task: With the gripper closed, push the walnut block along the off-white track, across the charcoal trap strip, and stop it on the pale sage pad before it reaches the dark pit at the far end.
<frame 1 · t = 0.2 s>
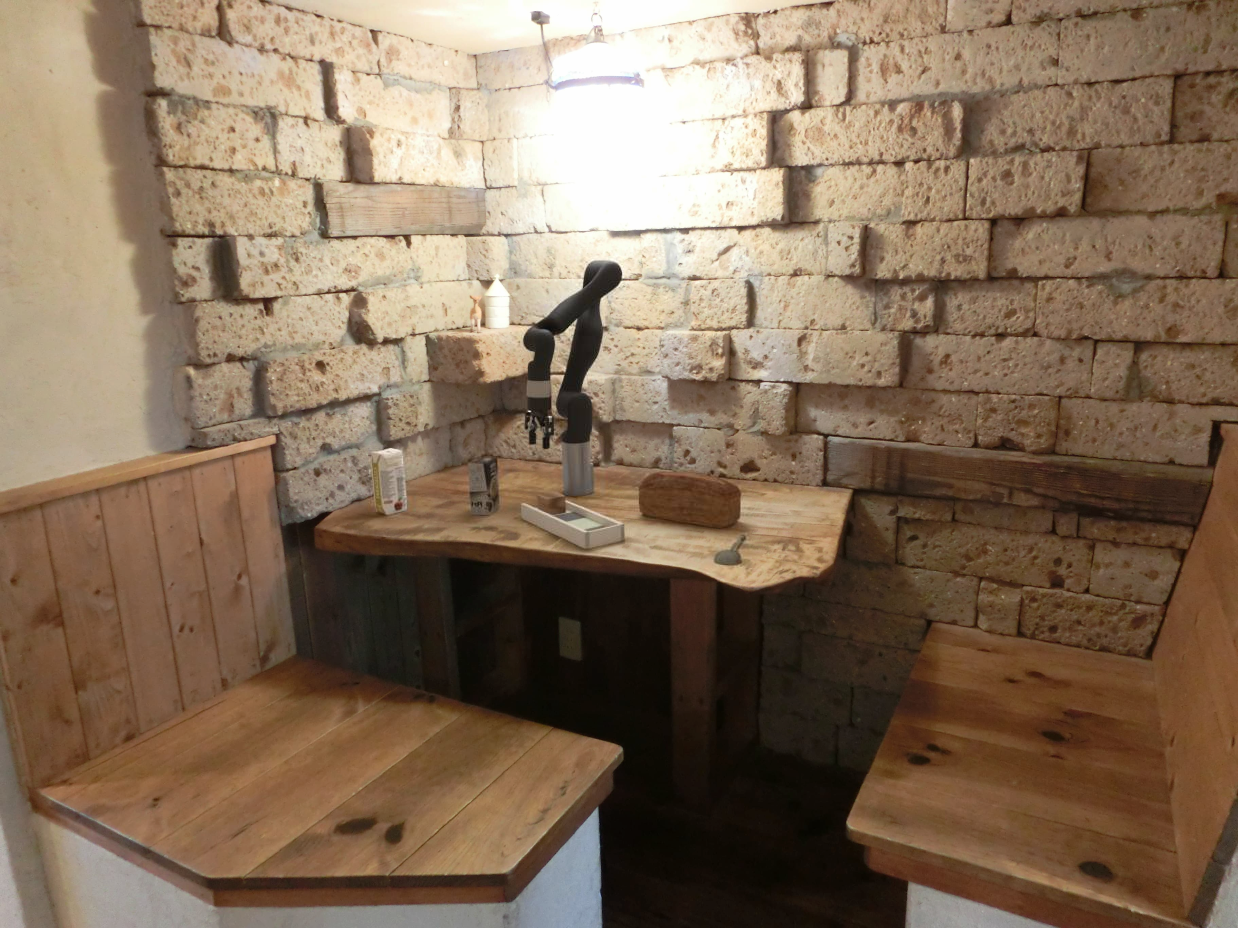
hand: (539, 446, 264), 18 cm above the table, tool pointing down, fingers open, 8 cm apart
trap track: (570, 528, 240), on the table
walnut block: (551, 511, 247), point 2 cm above the table, touching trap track
juice carton: (391, 511, 260), on the table
coffee box: (485, 511, 259), on the table
soupspoon: (734, 553, 218), on the table
bread: (689, 519, 246), on the table
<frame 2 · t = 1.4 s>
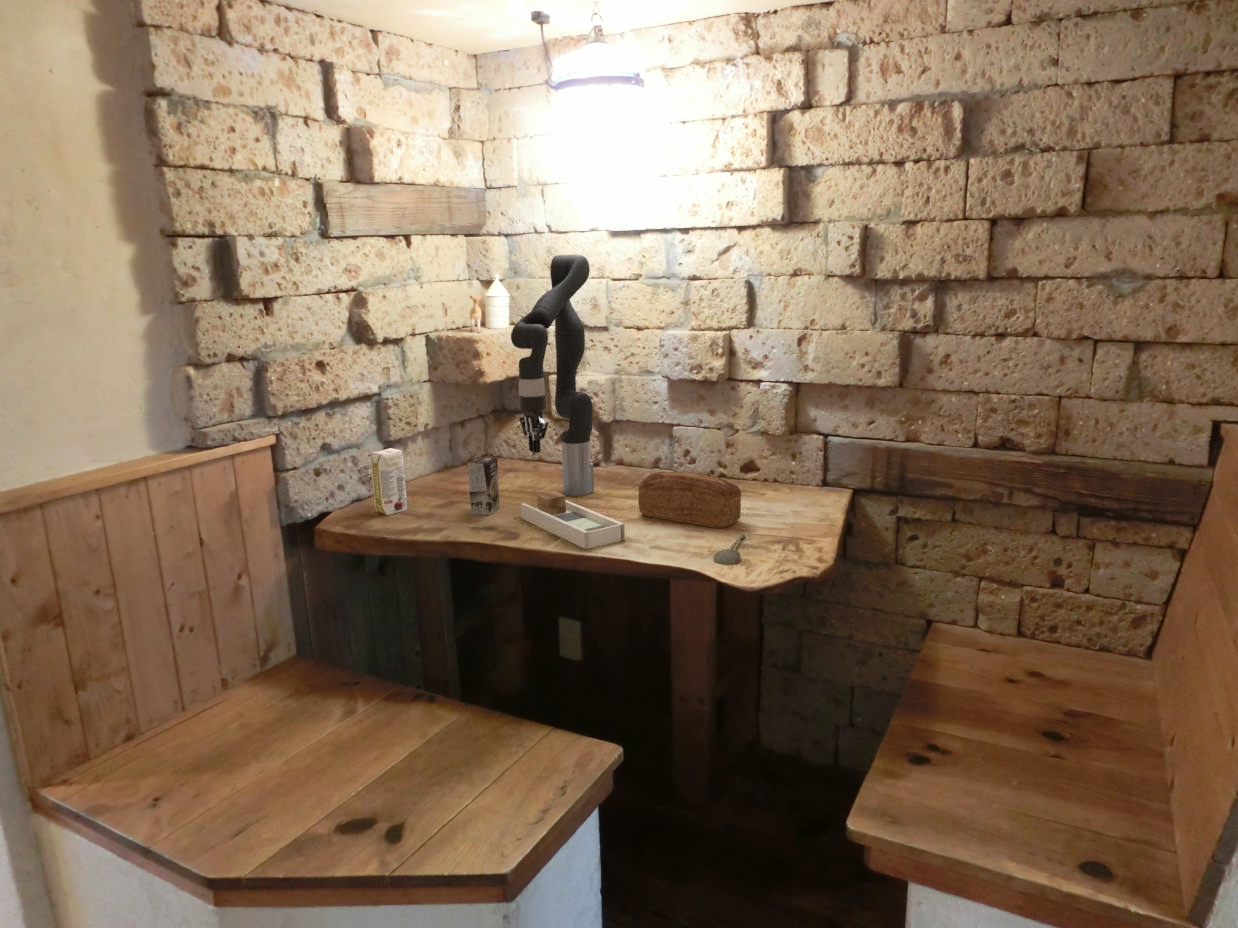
hand: (534, 451, 250), 19 cm above the table, tool pointing down, fingers closed
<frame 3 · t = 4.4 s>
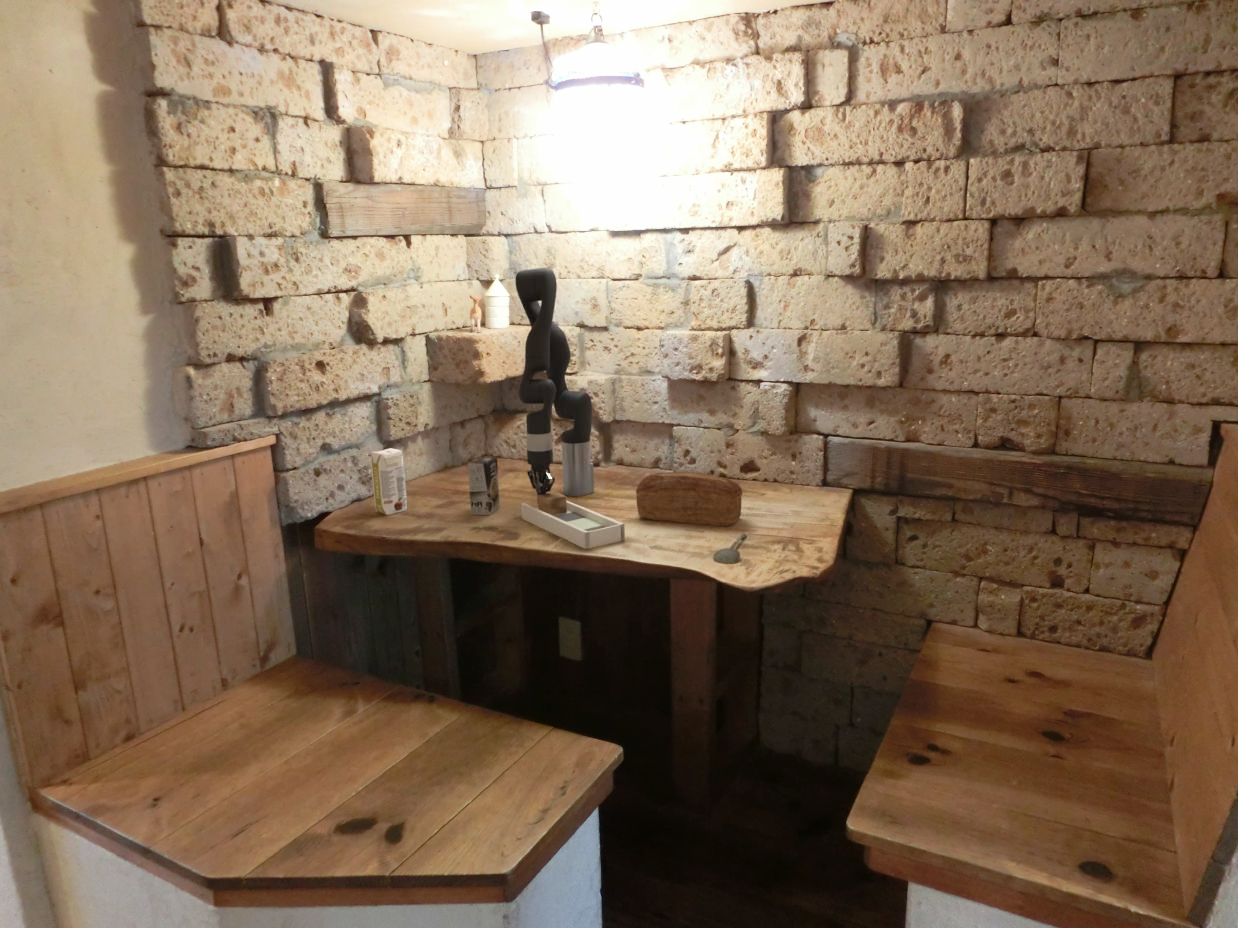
hand: (542, 504, 251), 4 cm above the table, tool pointing down, fingers closed
walnut block: (552, 512, 247), point 2 cm above the table, touching gripper, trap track
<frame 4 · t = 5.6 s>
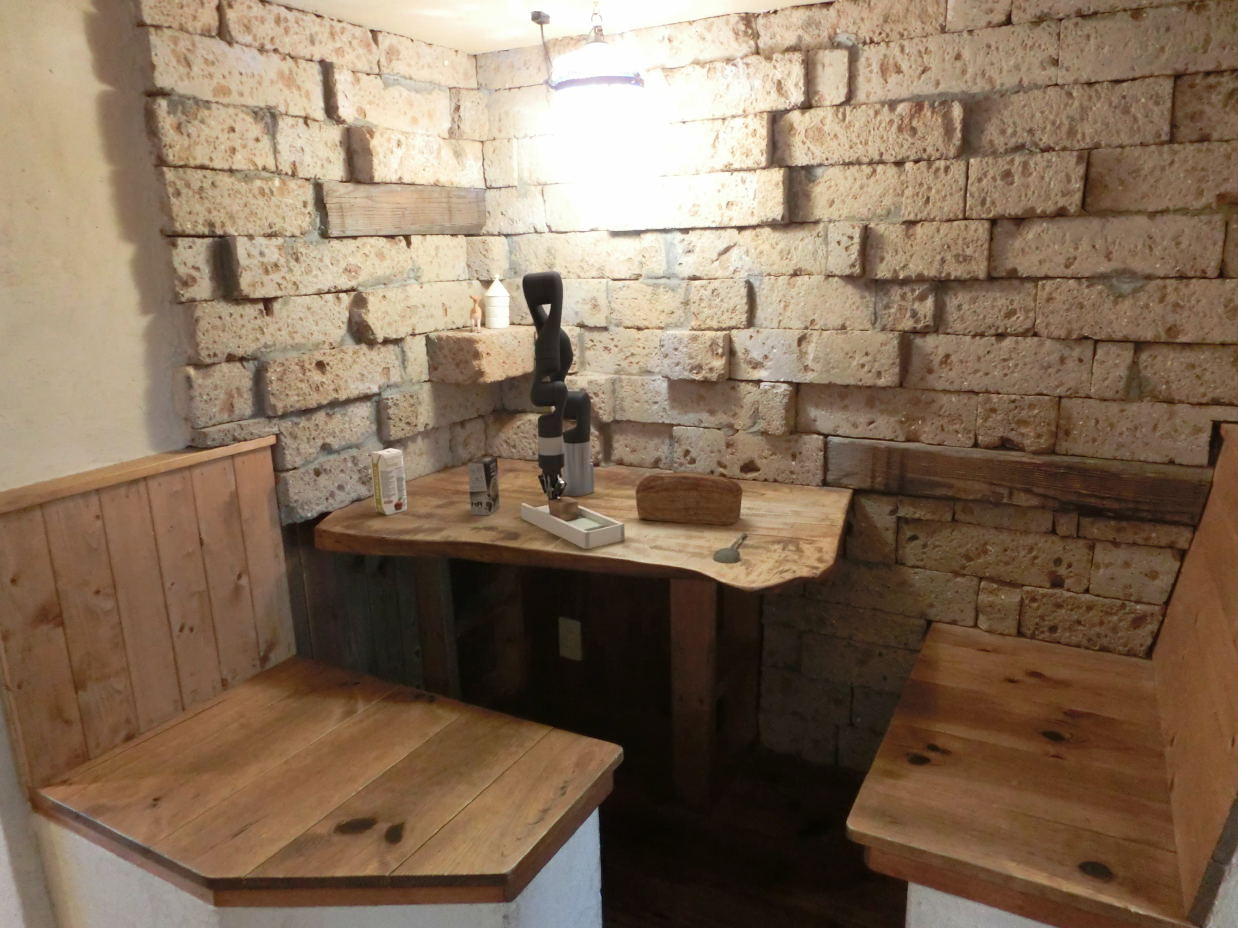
hand: (553, 509, 246), 4 cm above the table, tool pointing down, fingers closed
walnut block: (564, 517, 241), point 3 cm above the table, touching gripper, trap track
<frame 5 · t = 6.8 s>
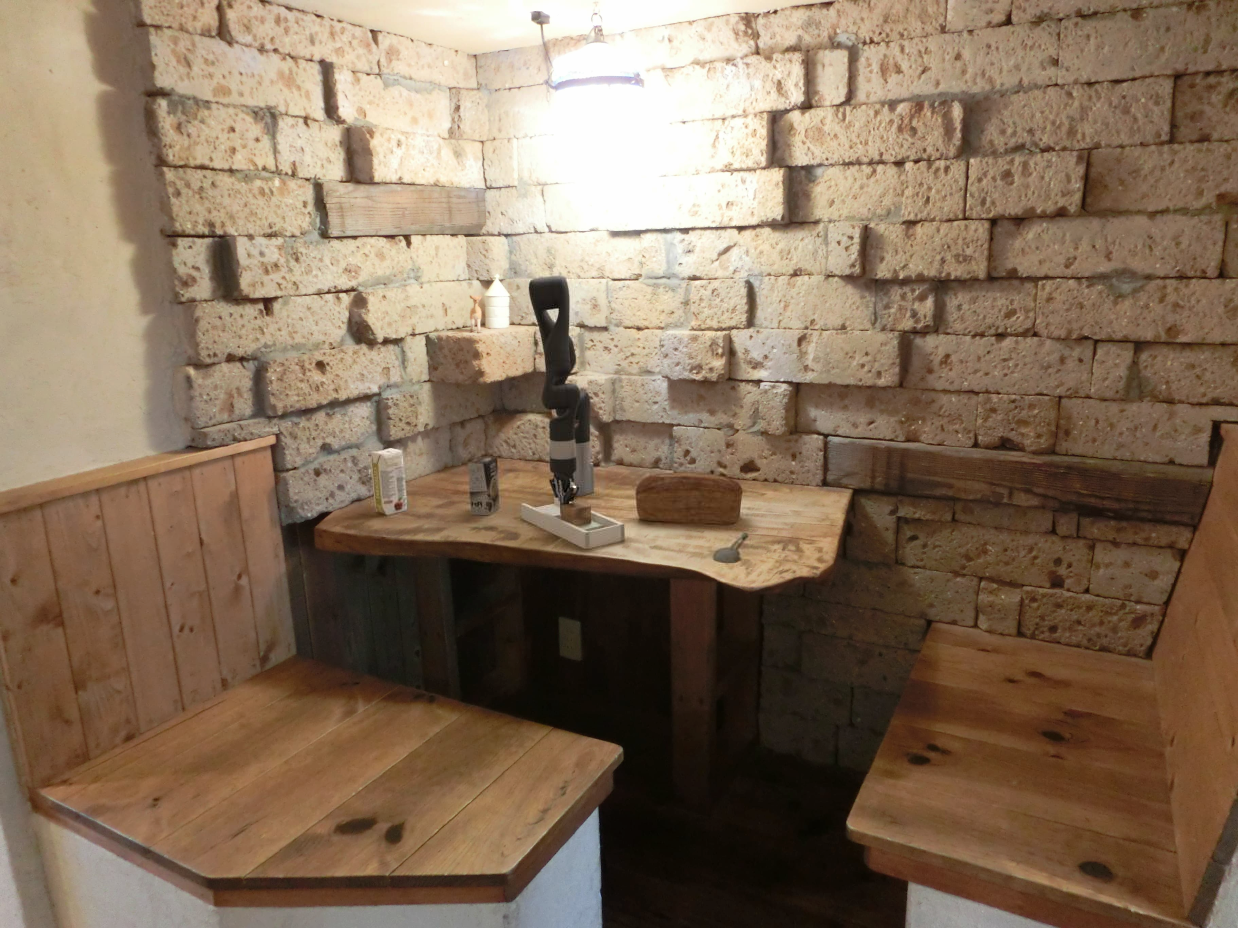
hand: (564, 514, 241), 4 cm above the table, tool pointing down, fingers closed
walnut block: (576, 522, 236), point 3 cm above the table, touching gripper
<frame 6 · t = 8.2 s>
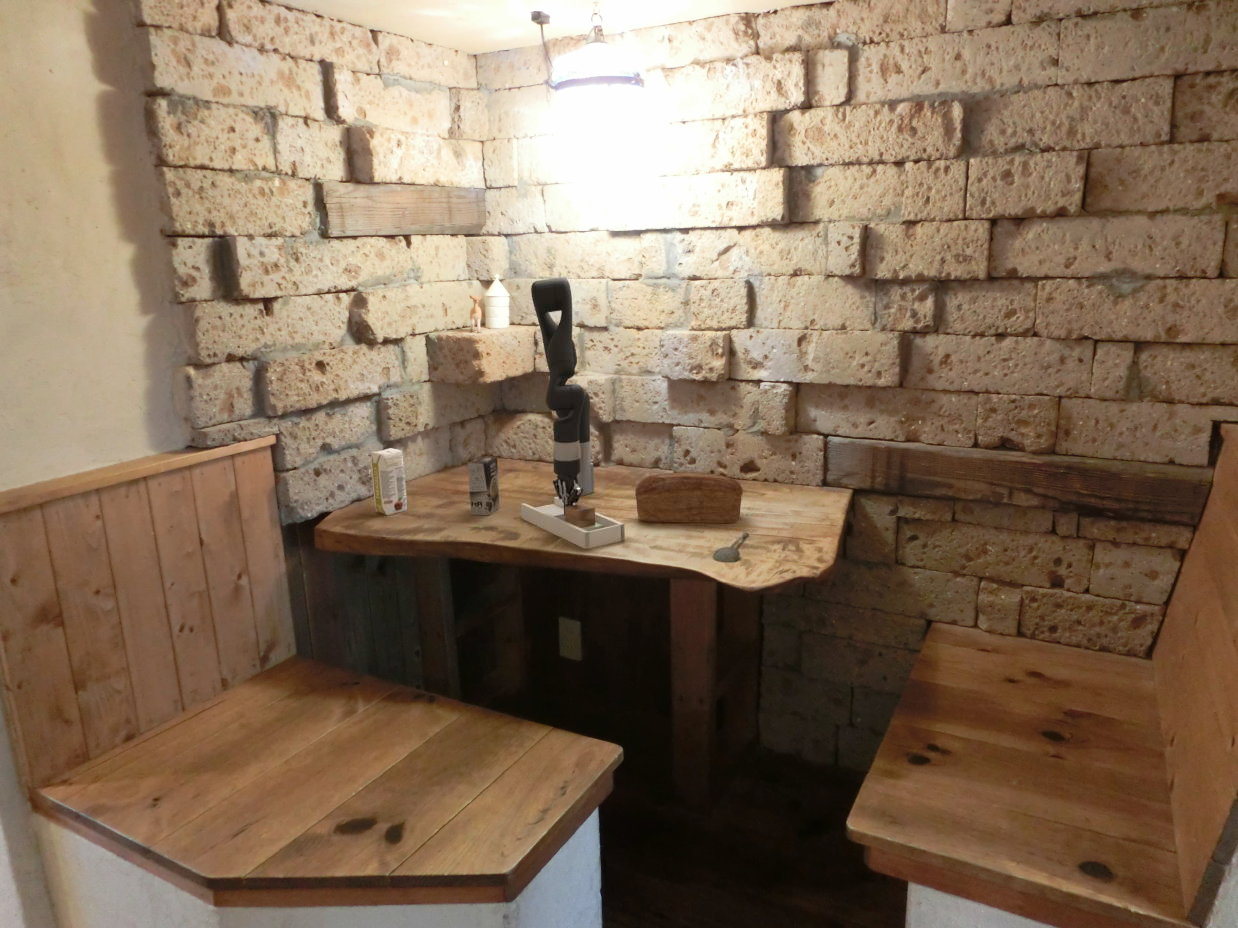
hand: (568, 515, 239), 4 cm above the table, tool pointing down, fingers closed
walnut block: (580, 524, 235), point 2 cm above the table, touching gripper, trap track
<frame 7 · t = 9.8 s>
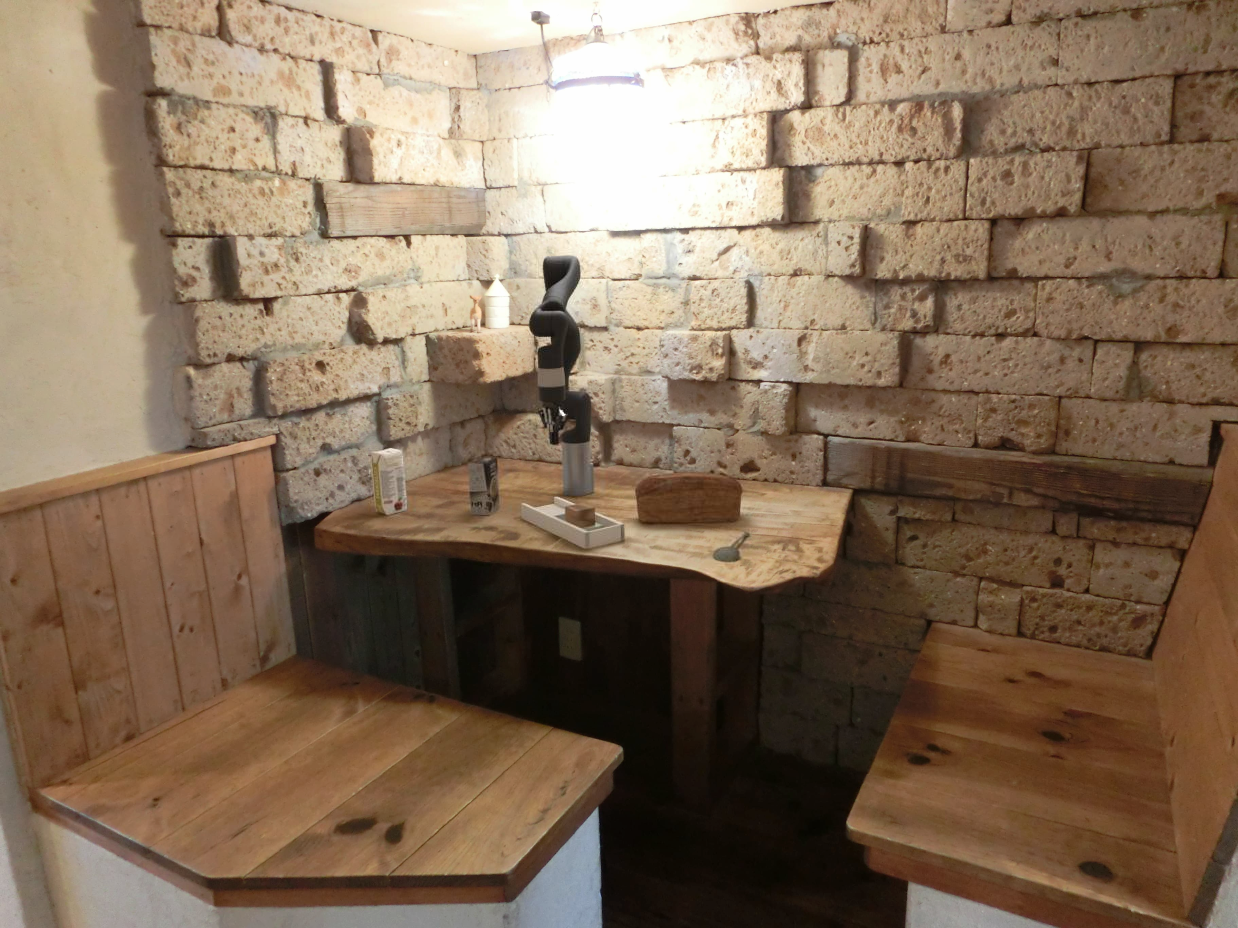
hand: (554, 444, 241), 23 cm above the table, tool pointing down, fingers closed
walnut block: (580, 524, 235), point 2 cm above the table, touching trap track
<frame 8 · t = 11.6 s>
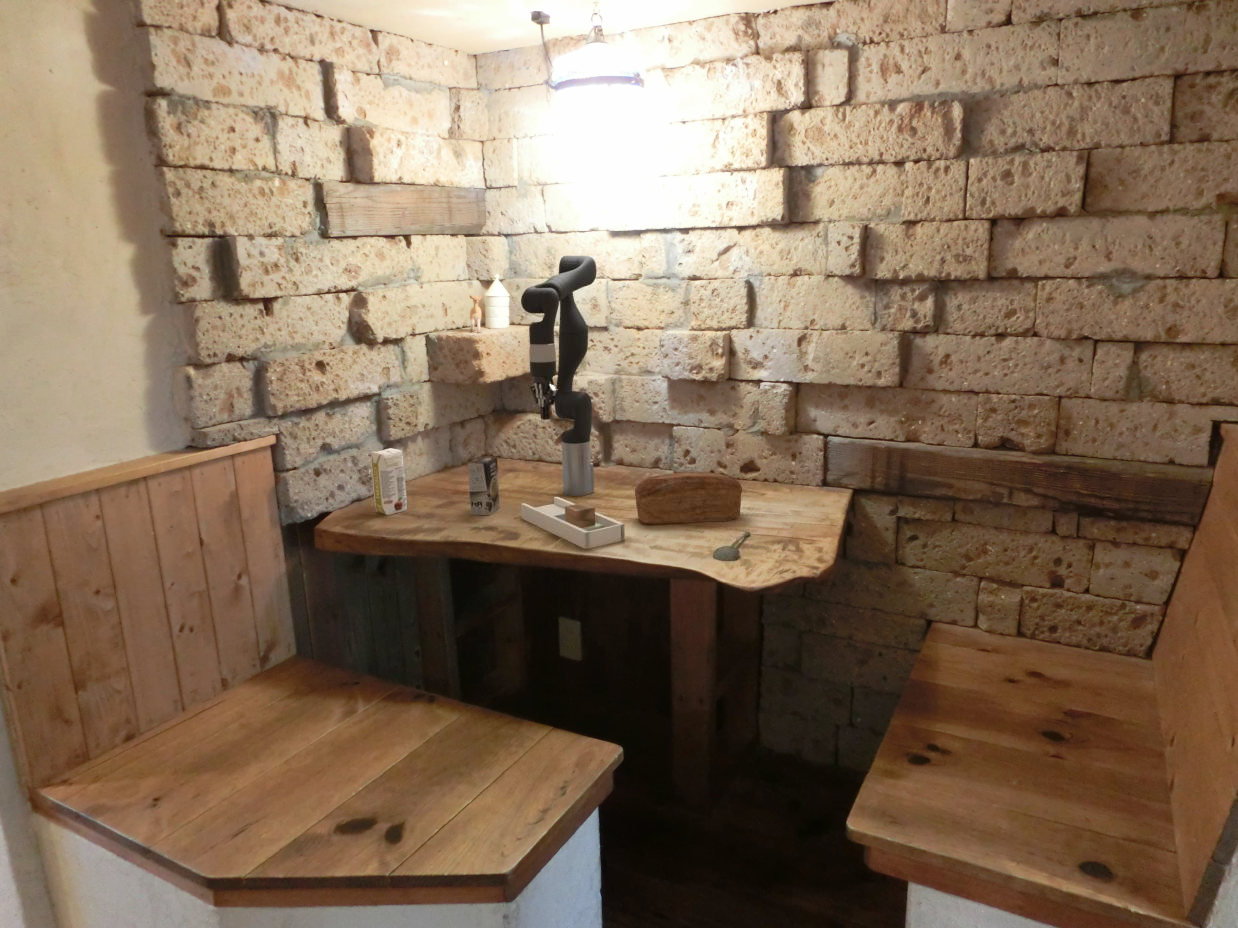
hand: (545, 419, 246), 29 cm above the table, tool pointing down, fingers closed
at the end: walnut block inside the target area on the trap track (0.2 cm from its centre), point 2.5 cm above the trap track's base; walnut block tilted 0° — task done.
